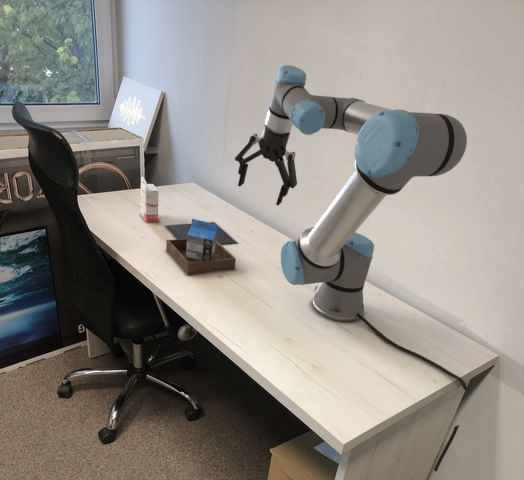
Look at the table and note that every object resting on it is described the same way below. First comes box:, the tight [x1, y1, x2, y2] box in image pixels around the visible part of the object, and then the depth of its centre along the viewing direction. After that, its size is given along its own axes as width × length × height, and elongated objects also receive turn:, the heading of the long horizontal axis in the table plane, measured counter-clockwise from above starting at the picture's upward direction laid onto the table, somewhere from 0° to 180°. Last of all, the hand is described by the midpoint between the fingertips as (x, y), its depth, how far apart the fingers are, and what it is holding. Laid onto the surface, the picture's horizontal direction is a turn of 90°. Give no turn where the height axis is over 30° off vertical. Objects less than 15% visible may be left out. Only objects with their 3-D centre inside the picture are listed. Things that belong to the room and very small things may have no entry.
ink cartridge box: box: [140, 176, 159, 223], centre depth 180 cm, size 9×5×15 cm, turn 25°
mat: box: [165, 221, 238, 246], centre depth 177 cm, size 20×20×1 cm
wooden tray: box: [165, 238, 237, 276], centre depth 158 cm, size 19×17×4 cm
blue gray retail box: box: [186, 218, 218, 261], centre depth 156 cm, size 9×4×12 cm, turn 76°
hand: (259, 194), depth 150 cm, fingers open, 13 cm apart
